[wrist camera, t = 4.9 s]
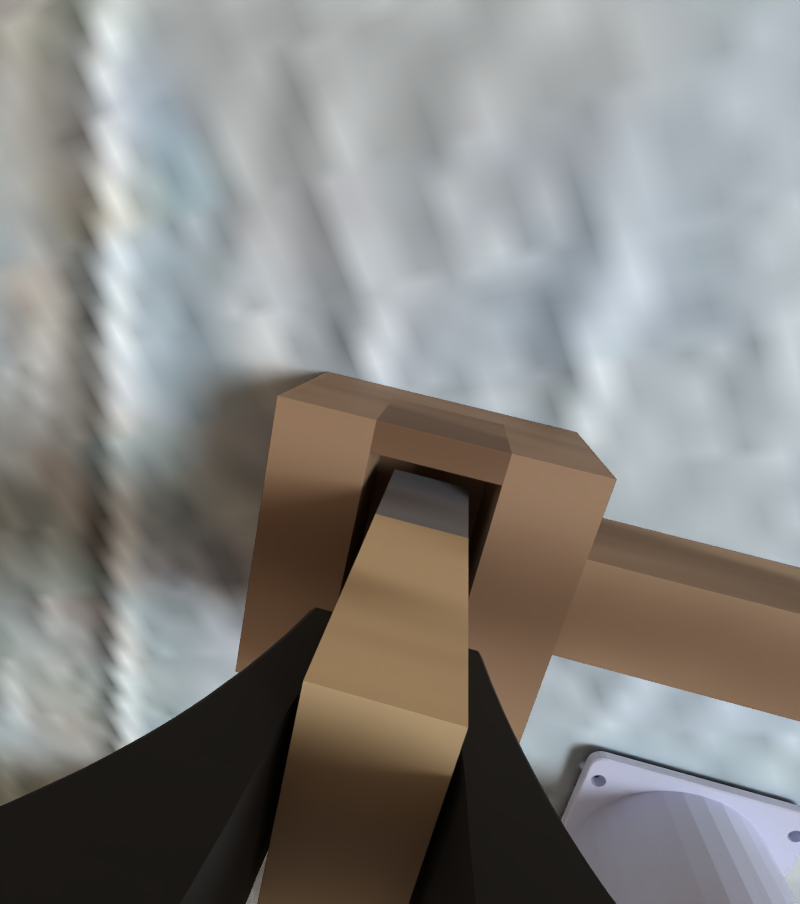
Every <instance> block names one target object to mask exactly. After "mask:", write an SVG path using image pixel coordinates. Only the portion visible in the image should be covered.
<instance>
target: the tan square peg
mask: <svg viewBox="0 0 800 904" xmlns="http://www.w3.org/2000/svg"><path fill="white" fill-rule="evenodd" d="M468 500H469V488H466V487H462V486H458V485H454V484H450V483H447V482H443V481H439V480H435V479H431V478H427V477H423V476H419V475H416V474H412V473H408V472H404V471H400V470H396V469H395V470H394V472H393V475H392V477H391V479H390V482H389V484H388V486H387V489H386V491H385V493H384V495H383V498H382V500H381V502H380V505H379V507H378V509H377V512H376V514H375V516H374V519H373V521H372V523H371V525H370V528H369V530H368V532H367V535H366V537H365V539H364V542H363V544H362V546H361V549H360V551H359V553H358V555H357V558H356V560H355V562H354V565H353V567H352V569H351V572H350V574H349V576H348V579H347V581H346V583H345V586H344V588H343V590H342V592H341V595H340V597H339V599H338V602H337V604H336V606H335V609H334V611H333V613H332V616H331V618H330V620H329V622H328V625H327V627H326V629H325V632H324V634H323V636H322V639H321V641H320V643H319V646H318V648H317V650H316V652H315V655H314V657H313V659H312V662H311V664H310V666H309V669H308V671H307V673H306V676H305V678H304V680H303V684H302V689H301V694H300V699H299V704H298V709H297V714H296V719H295V723H294V728H293V733H292V738H291V743H290V748H289V753H288V757H287V762H286V767H285V772H284V777H283V782H282V787H281V791H280V796H279V801H278V806H277V811H276V816H275V821H274V825H273V830H272V835H271V840H270V845H269V850H268V855H267V859H266V864H265V869H264V874H263V879H262V884H261V889H260V894H259V898H258V903H257V904H409V901H410V898H411V895H412V892H413V889H414V886H415V883H416V880H417V877H418V874H419V871H420V868H421V865H422V862H423V860H424V857H425V854H426V851H427V848H428V845H429V842H430V839H431V836H432V833H433V830H434V827H435V824H436V821H437V818H438V815H439V812H440V809H441V806H442V803H443V800H444V797H445V795H446V792H447V789H448V786H449V783H450V780H451V777H452V774H453V771H454V768H455V765H456V762H457V759H458V756H459V753H460V750H461V747H462V744H463V741H464V738H465V735H466V732H467V730H468Z"/></svg>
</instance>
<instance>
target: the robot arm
mask: <svg viewBox="0 0 800 904" xmlns="http://www.w3.org/2000/svg"><path fill="white" fill-rule="evenodd" d="M332 613H333V612H332V611H328V610H324V609H321V608H317V607H316V608H314V609H312V610H310V611H309V612H308V613H307V614H306V615H305V616H304V617H303V618H302V619H301V620H300V621H299V622H298V623H297V624H296V625H295V626H294V627H293V628H292V629H291V630H290V631H288V632H287V633H286V634H285V635H284V636H283V637H282V638H281V639H279V640H278V641H277V642H276V643H275V644H274V645H273V646H271V647H270V648H269V649H268V650H267V651H265V652H264V653H263V654H262V655H260V656H259V657H258V658H257V659H256V660H254V661H253V662H252V663H251V664H250V665H248V666H247V667H246V668H245V669H243V670H242V671H241V672H239V673H238V674H237V675H235V676H234V677H233V678H231V679H230V680H228V681H227V682H226V683H224V684H223V685H222V686H220V687H219V688H217V689H216V690H215V691H213V692H212V693H211V694H209V695H208V696H206V697H205V698H203V699H202V700H201V701H199V702H198V703H196V704H195V705H193V706H192V707H190V708H189V709H187V710H185V711H184V712H182V713H181V714H179V715H178V716H176V717H174V718H173V719H171V720H170V721H168V722H166V723H165V724H163V725H161V726H160V727H158V728H156V729H155V730H153V731H151V732H150V733H148V734H146V735H144V736H143V737H141V738H139V739H137V740H135V741H134V742H132V743H130V744H128V745H126V746H124V747H123V748H121V749H119V750H117V751H115V752H114V753H112V754H110V755H108V756H106V757H104V758H102V759H100V760H99V761H97V762H95V763H93V764H91V765H89V766H87V767H85V768H83V769H81V770H79V771H77V772H75V773H73V774H71V775H68V776H66V777H64V778H62V779H60V780H57V781H55V782H53V783H51V784H49V785H46V786H44V787H42V788H40V789H38V790H35V791H33V792H31V793H29V794H27V795H25V796H22V797H20V798H18V799H16V800H14V801H11V802H9V803H7V804H5V805H2V806H0V904H246V902H247V899H248V897H249V894H250V892H251V889H252V887H253V884H254V881H255V879H256V877H257V874H258V872H259V870H260V867H261V865H262V863H263V861H264V858H265V856H266V854H267V851H268V849H269V845H270V840H271V835H272V830H273V825H274V821H275V816H276V811H277V806H278V801H279V796H280V791H281V787H282V782H283V777H284V772H285V767H286V762H287V757H288V753H289V748H290V743H291V738H292V733H293V728H294V723H295V719H296V714H297V709H298V704H299V699H300V694H301V689H302V684H303V680H304V678H305V676H306V673H307V671H308V669H309V666H310V664H311V662H312V659H313V657H314V655H315V652H316V650H317V648H318V646H319V643H320V641H321V639H322V636H323V634H324V632H325V629H326V627H327V625H328V622H329V620H330V618H331V616H332ZM596 775H601V776H599V777H593V776H596ZM799 855H800V806H798V805H795V804H791V803H788V802H784V801H780V800H777V799H773V798H770V797H766V796H763V795H759V794H755V793H752V792H748V791H745V790H741V789H737V788H734V787H730V786H727V785H723V784H719V783H716V782H712V781H709V780H705V779H701V778H698V777H694V776H691V775H687V774H683V773H680V772H676V771H673V770H669V769H665V768H662V767H658V766H655V765H651V764H648V763H644V762H640V761H637V760H633V759H630V758H626V757H622V756H619V755H615V754H612V753H608V752H603V751H597V752H594V753H592V754H590V755H589V756H588V758H587V760H586V762H585V765H584V767H583V769H582V772H581V774H580V776H579V779H578V781H577V783H576V786H575V788H574V790H573V793H572V795H571V798H570V800H569V802H568V805H567V807H566V809H565V812H564V814H563V816H562V819H561V820H560V818H559V817H558V815H557V813H556V811H555V810H554V808H553V806H552V804H551V803H550V801H549V799H548V797H547V796H546V794H545V792H544V790H543V788H542V787H541V785H540V783H539V781H538V779H537V777H536V776H535V774H534V772H533V770H532V768H531V766H530V764H529V762H528V760H527V758H526V756H525V755H524V753H523V750H522V748H521V746H520V744H519V742H518V740H517V738H516V736H515V734H514V732H513V730H512V728H511V726H510V723H509V721H508V719H507V717H506V715H505V713H504V710H503V708H502V706H501V703H500V701H499V699H498V696H497V694H496V692H495V689H494V687H493V684H492V682H491V680H490V677H489V674H488V672H487V669H486V667H485V664H484V661H483V659H482V657H481V655H480V653H479V651H476V650H473V649H469V648H468V730H467V732H466V735H465V738H464V741H463V744H462V747H461V750H460V753H459V756H458V759H457V762H456V765H455V768H454V771H453V774H452V777H451V780H450V783H449V786H448V789H447V792H446V795H445V797H444V800H443V803H442V806H441V809H440V812H439V815H438V818H437V821H436V824H435V827H434V830H433V833H432V836H431V839H430V842H429V845H428V848H427V851H426V854H425V857H424V860H423V862H422V865H421V868H420V871H419V874H418V877H417V880H416V883H415V886H414V889H413V892H412V895H411V898H410V901H409V904H799V903H798V901H797V899H796V897H795V895H794V894H793V892H792V890H791V888H790V886H789V885H788V883H787V881H786V879H785V877H786V875H787V874H788V872H789V871H790V869H791V867H792V866H793V864H794V863H795V861H796V860H797V858H798V856H799Z"/></svg>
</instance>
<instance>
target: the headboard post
mask: <svg viewBox="0 0 800 904" xmlns="http://www.w3.org/2000/svg"><path fill="white" fill-rule="evenodd" d="M395 469H396V470H400V471H404V472H408V473H412V474H416V475H419V476H423V477H427V478H431V479H435V480H439V481H443V482H447V483H450V484H454V485H458V486H462V487H466V488H469V500H468V648H469V649H473V650H476V651H479V653H480V655H481V657H482V659H483V661H484V664H485V667H486V669H487V672H488V674H489V677H490V680H491V682H492V684H493V687H494V689H495V692H496V694H497V696H498V699H499V701H500V703H501V706H502V708H503V710H504V713H505V715H506V717H507V719H508V721H509V723H510V726H511V728H512V730H513V732H514V734H515V736H516V738H517V740H518V742H519V743H520V740H521V737H522V735H523V732H524V729H525V726H526V724H527V721H528V718H529V716H530V713H531V710H532V707H533V705H534V702H535V699H536V697H537V694H538V691H539V688H540V686H541V683H542V680H543V678H544V675H545V672H546V670H547V667H548V664H549V661H550V659H551V656H552V655H555V656H559V657H563V658H566V659H570V660H574V661H577V662H581V663H585V664H589V665H592V666H596V667H600V668H603V669H607V670H611V671H615V672H618V673H622V674H626V675H629V676H633V677H637V678H641V679H644V680H648V681H652V682H656V683H659V684H663V685H667V686H670V687H674V688H678V689H682V690H685V691H689V692H693V693H696V694H700V695H704V696H708V697H711V698H715V699H719V700H722V701H726V702H730V703H734V704H737V705H741V706H745V707H748V708H752V709H756V710H760V711H763V712H767V713H771V714H774V715H778V716H782V717H786V718H789V719H793V720H797V721H800V568H798V567H794V566H790V565H786V564H782V563H778V562H774V561H770V560H766V559H762V558H758V557H754V556H750V555H746V554H742V553H739V552H735V551H731V550H727V549H723V548H719V547H715V546H711V545H707V544H703V543H699V542H695V541H691V540H687V539H683V538H679V537H675V536H671V535H667V534H663V533H659V532H655V531H651V530H647V529H643V528H639V527H635V526H631V525H627V524H623V523H620V522H616V521H612V520H608V519H604V518H603V515H604V512H605V510H606V507H607V504H608V501H609V499H610V496H611V493H612V491H613V488H614V485H615V483H616V480H617V479H616V478H615V477H614V476H613V475H612V473H611V472H610V471H609V470H608V469H607V467H606V466H605V465H604V464H603V463H602V462H601V460H600V459H599V458H598V457H597V456H596V454H595V453H594V452H593V451H592V450H591V449H590V447H589V446H588V445H587V444H586V443H585V441H584V440H583V439H582V438H581V437H580V436H579V434H578V433H577V432H573V431H569V430H565V429H561V428H557V427H553V426H549V425H544V424H540V423H536V422H532V421H528V420H524V419H520V418H516V417H512V416H507V415H503V414H499V413H495V412H491V411H487V410H483V409H479V408H475V407H470V406H466V405H462V404H458V403H454V402H450V401H446V400H442V399H437V398H433V397H429V396H425V395H421V394H417V393H413V392H409V391H405V390H400V389H396V388H392V387H388V386H384V385H380V384H376V383H372V382H368V381H363V380H359V379H355V378H351V377H347V376H343V375H339V374H335V373H331V372H325V373H323V374H321V375H319V376H317V377H315V378H313V379H311V380H309V381H307V382H305V383H302V384H300V385H298V386H296V387H294V388H292V389H290V390H288V391H286V392H284V393H282V394H280V395H277V401H276V408H275V415H274V421H273V428H272V434H271V441H270V448H269V454H268V461H267V467H266V474H265V480H264V487H263V494H262V500H261V507H260V513H259V520H258V527H257V533H256V540H255V546H254V553H253V559H252V566H251V573H250V579H249V586H248V592H247V599H246V605H245V612H244V619H243V625H242V632H241V638H240V645H239V652H238V658H237V665H236V672H241V671H242V670H243V669H245V668H246V667H247V666H248V665H250V664H251V663H252V662H253V661H254V660H256V659H257V658H258V657H259V656H260V655H262V654H263V653H264V652H265V651H267V650H268V649H269V648H270V647H271V646H273V645H274V644H275V643H276V642H277V641H278V640H279V639H281V638H282V637H283V636H284V635H285V634H286V633H287V632H288V631H290V630H291V629H292V628H293V627H294V626H295V625H296V624H297V623H298V622H299V621H300V620H301V619H302V618H303V617H304V616H305V615H306V614H307V613H308V612H309V611H310V610H312V609H314V608H316V607H317V608H321V609H324V610H328V611H332V612H333V611H334V609H335V606H336V604H337V602H338V599H339V597H340V595H341V592H342V590H343V588H344V586H345V583H346V581H347V579H348V576H349V574H350V572H351V569H352V567H353V565H354V562H355V560H356V558H357V555H358V553H359V551H360V549H361V546H362V544H363V542H364V539H365V537H366V535H367V532H368V530H369V528H370V525H371V523H372V521H373V519H374V516H375V514H376V512H377V509H378V507H379V505H380V502H381V500H382V498H383V495H384V493H385V491H386V489H387V486H388V484H389V482H390V479H391V477H392V475H393V472H394V470H395Z"/></svg>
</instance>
